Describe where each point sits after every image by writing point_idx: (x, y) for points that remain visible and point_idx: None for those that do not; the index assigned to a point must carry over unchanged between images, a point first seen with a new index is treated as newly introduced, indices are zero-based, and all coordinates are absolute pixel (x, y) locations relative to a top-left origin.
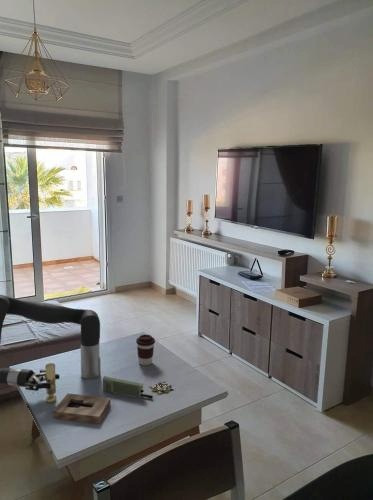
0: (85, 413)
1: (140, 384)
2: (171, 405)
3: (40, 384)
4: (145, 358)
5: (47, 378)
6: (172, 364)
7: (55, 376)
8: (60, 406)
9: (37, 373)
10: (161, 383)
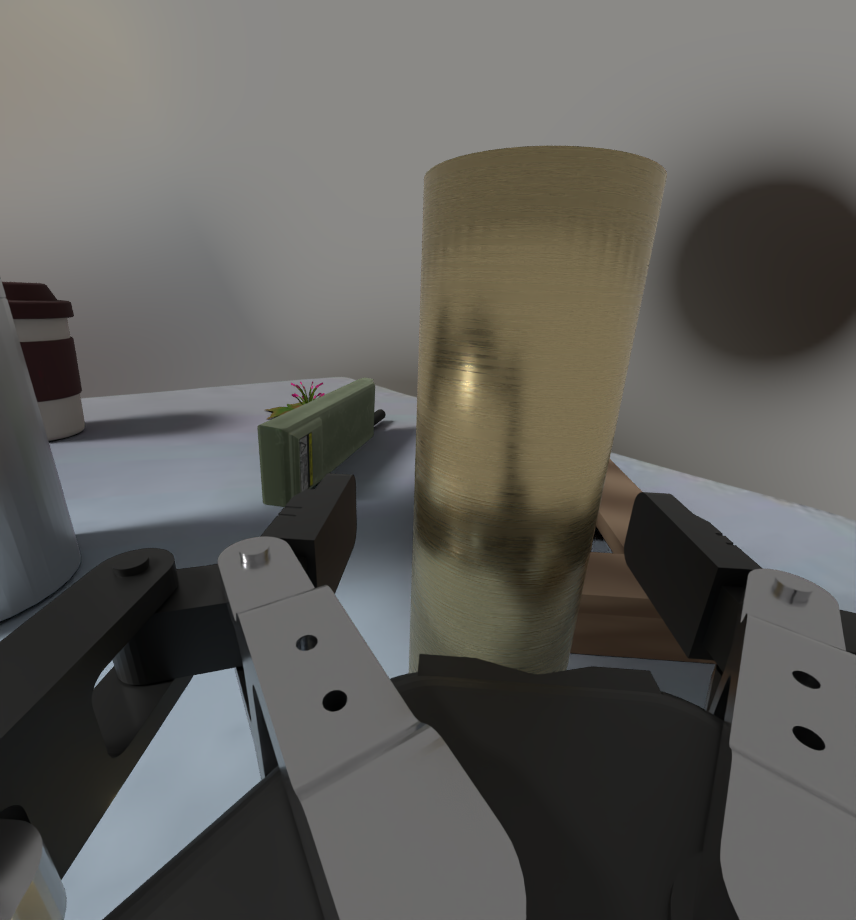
0: (616, 478)
1: (366, 380)
2: (412, 406)
3: (799, 595)
4: (76, 392)
5: (603, 480)
6: (131, 402)
7: (343, 526)
8: None
9: (365, 882)
10: (314, 391)
